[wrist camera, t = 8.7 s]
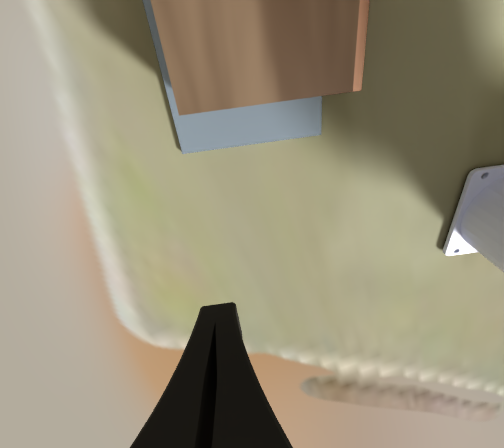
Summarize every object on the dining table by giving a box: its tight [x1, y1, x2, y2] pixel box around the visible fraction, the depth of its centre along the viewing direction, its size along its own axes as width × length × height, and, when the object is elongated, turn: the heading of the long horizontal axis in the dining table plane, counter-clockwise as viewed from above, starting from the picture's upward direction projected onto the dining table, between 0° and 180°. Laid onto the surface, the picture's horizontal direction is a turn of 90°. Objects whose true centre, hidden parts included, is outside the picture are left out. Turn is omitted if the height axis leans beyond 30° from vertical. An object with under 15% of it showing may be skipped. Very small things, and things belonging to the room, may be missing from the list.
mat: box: [143, 0, 322, 154], centre depth 15 cm, size 9×12×1 cm
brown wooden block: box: [151, 0, 370, 116], centre depth 13 cm, size 4×6×8 cm
